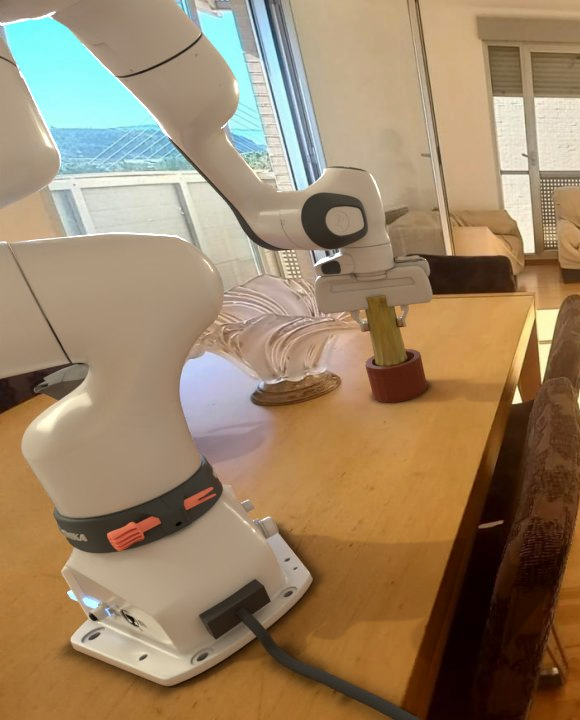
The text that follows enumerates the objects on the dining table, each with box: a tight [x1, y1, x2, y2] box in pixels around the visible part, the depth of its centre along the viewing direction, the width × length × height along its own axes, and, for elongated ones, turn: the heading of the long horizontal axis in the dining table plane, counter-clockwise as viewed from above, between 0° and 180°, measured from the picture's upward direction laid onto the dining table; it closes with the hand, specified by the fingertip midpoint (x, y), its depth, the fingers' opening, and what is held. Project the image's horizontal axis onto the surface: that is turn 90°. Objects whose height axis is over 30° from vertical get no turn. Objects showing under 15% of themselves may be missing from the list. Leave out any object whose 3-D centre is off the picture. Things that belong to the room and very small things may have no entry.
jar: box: [364, 348, 428, 404], centre depth 98 cm, size 10×10×8 cm
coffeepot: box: [33, 363, 89, 401], centre depth 80 cm, size 15×9×18 cm, turn 171°
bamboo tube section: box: [364, 295, 408, 367], centre depth 95 cm, size 6×6×14 cm
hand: (384, 328), depth 94 cm, fingers closed on bamboo tube section, 5 cm apart
